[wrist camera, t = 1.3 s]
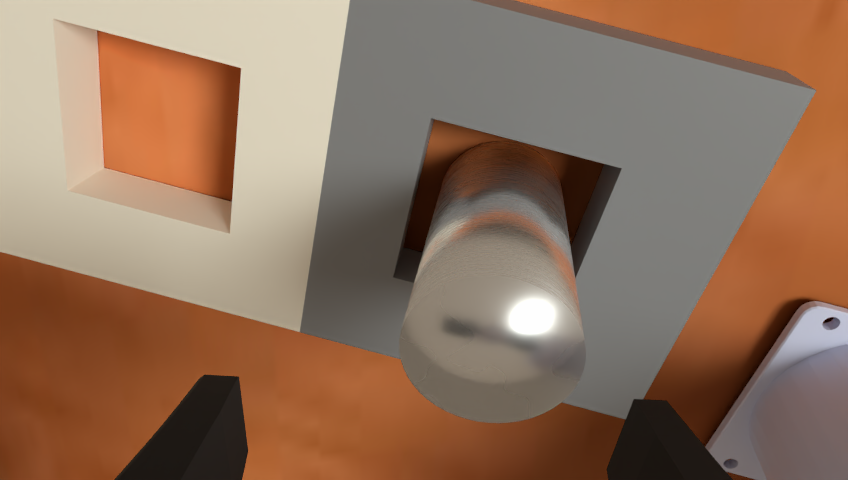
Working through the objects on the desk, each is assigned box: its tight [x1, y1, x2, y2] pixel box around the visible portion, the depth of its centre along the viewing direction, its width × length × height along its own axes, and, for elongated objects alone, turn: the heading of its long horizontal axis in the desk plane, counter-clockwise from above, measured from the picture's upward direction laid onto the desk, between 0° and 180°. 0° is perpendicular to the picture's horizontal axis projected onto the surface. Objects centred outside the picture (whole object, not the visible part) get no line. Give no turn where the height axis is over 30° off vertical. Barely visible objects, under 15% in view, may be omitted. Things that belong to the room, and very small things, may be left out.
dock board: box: [0, 0, 816, 420], centre depth 19 cm, size 24×12×2 cm, turn 77°
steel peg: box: [399, 141, 586, 423], centre depth 17 cm, size 4×4×8 cm
